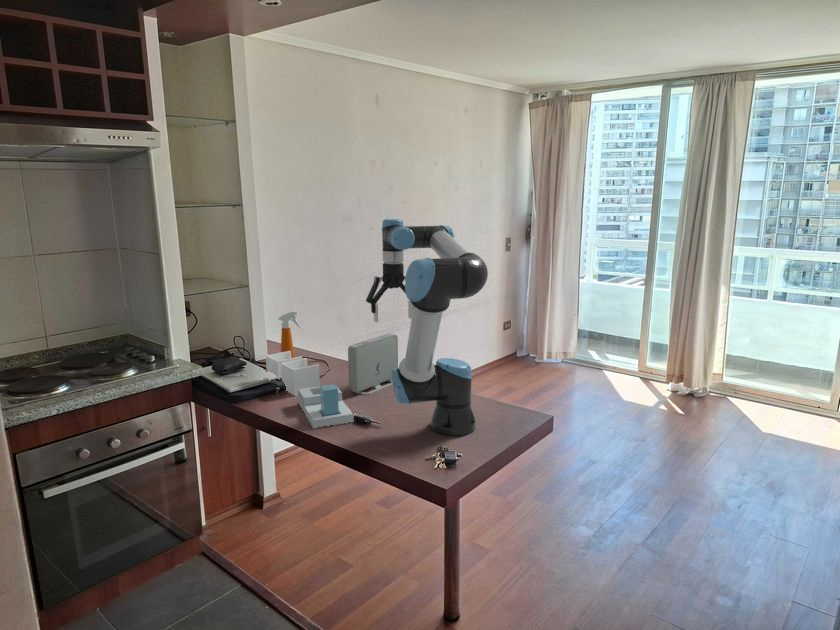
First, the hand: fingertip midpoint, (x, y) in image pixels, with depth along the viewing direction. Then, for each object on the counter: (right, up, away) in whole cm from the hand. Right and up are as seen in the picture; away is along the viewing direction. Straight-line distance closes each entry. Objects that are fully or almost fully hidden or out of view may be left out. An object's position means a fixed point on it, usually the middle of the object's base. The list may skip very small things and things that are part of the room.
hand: (393, 320), depth 207 cm
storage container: (-43, -27, +25) cm, 56 cm away
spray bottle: (-48, -22, +46) cm, 70 cm away
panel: (-24, -33, -4) cm, 42 cm away
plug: (-22, -35, -11) cm, 42 cm away
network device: (-9, -28, +22) cm, 37 cm away
